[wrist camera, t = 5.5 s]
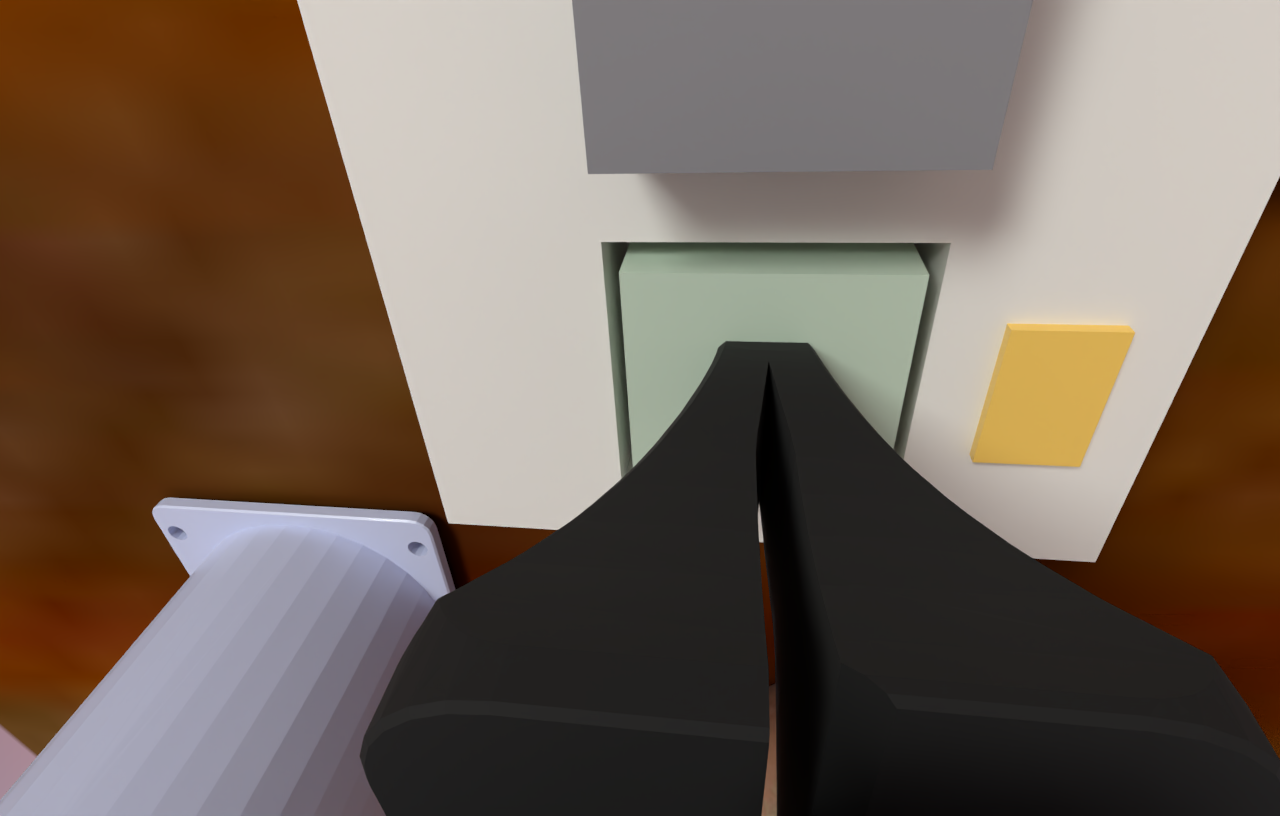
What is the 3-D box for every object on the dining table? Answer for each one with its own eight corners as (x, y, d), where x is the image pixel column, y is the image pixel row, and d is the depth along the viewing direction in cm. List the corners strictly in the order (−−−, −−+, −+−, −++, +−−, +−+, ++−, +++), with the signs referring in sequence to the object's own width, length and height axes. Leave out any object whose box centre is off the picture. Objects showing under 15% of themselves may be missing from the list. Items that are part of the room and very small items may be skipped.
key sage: (865, 434, 13) (882, 506, 12) (648, 426, 14) (634, 494, 12) (902, 221, 11) (929, 275, 9) (637, 221, 11) (618, 272, 10)
